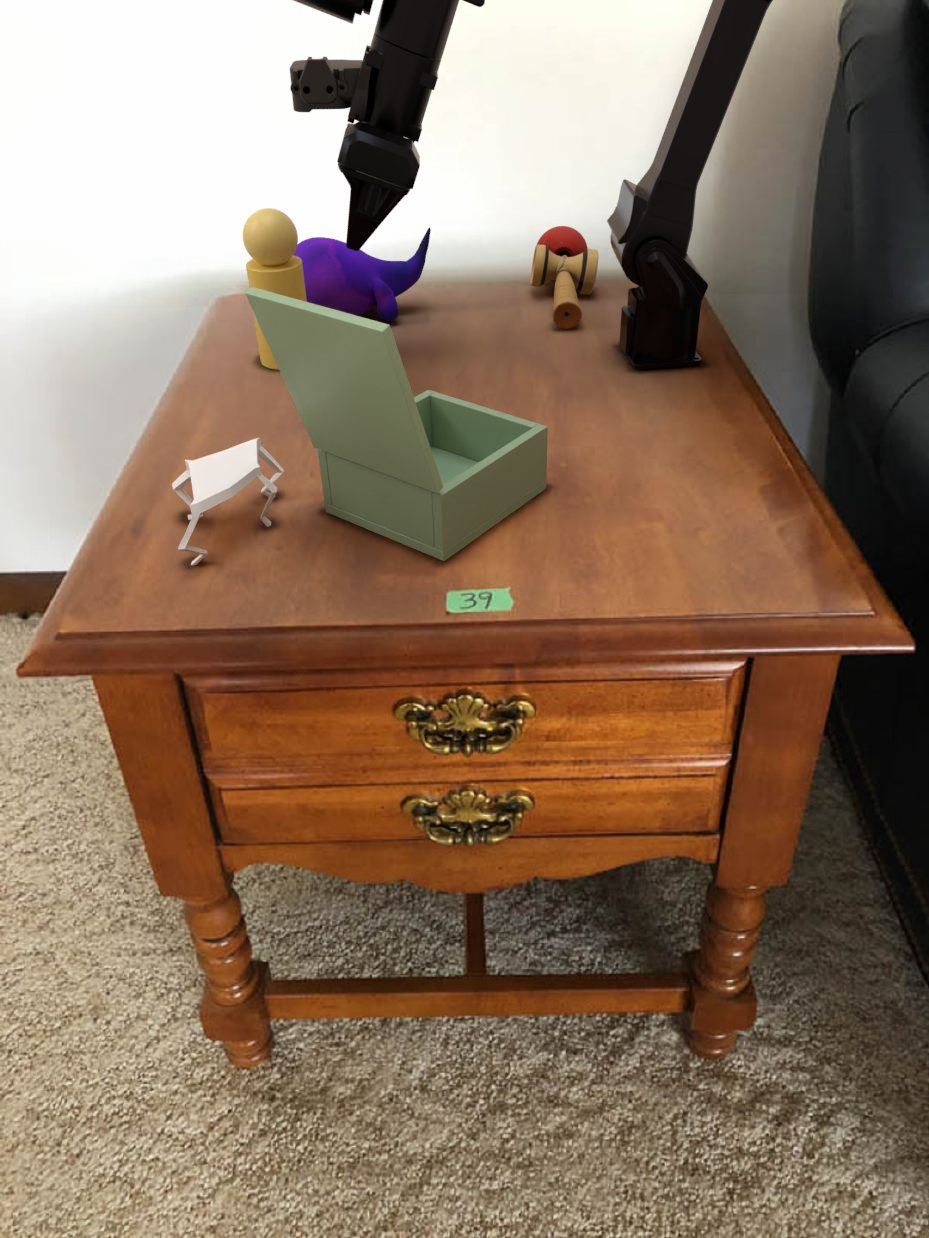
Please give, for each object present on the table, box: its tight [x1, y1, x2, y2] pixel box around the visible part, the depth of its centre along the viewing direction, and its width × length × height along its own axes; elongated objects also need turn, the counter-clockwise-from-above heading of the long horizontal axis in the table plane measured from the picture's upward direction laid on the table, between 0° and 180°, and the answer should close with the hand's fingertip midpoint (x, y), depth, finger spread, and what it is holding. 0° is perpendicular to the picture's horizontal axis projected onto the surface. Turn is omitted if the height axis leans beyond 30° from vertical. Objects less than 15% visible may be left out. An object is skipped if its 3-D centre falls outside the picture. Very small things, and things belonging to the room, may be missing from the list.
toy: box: [293, 227, 432, 322], centre depth 109 cm, size 9×10×15 cm
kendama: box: [529, 225, 599, 330], centre depth 112 cm, size 8×6×18 cm
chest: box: [317, 389, 549, 562], centre depth 77 cm, size 13×12×5 cm
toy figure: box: [242, 207, 307, 371], centre depth 98 cm, size 5×5×14 cm
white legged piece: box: [171, 437, 285, 566], centre depth 75 cm, size 12×8×5 cm
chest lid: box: [244, 287, 443, 493], centre depth 67 cm, size 13×12×1 cm
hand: (354, 233), depth 92 cm, fingers open, 9 cm apart
